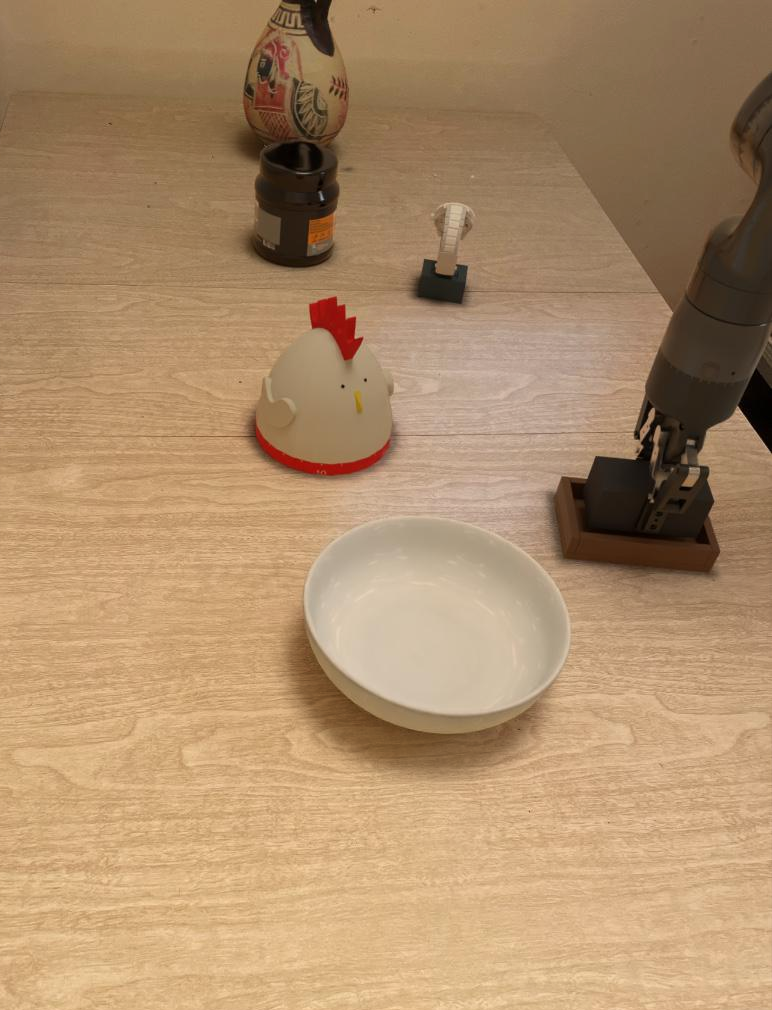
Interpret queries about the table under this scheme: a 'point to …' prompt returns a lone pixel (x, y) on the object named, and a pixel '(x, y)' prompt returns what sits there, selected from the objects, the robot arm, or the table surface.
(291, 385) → the kitchen timer
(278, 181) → the supplement container
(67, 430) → the table surface
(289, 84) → the ceramic jug
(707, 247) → the robot arm
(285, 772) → the table surface
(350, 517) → the table surface
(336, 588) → the serving bowl
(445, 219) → the cobra figurine
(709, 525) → the brown wooden tray
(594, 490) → the black rectangular block
